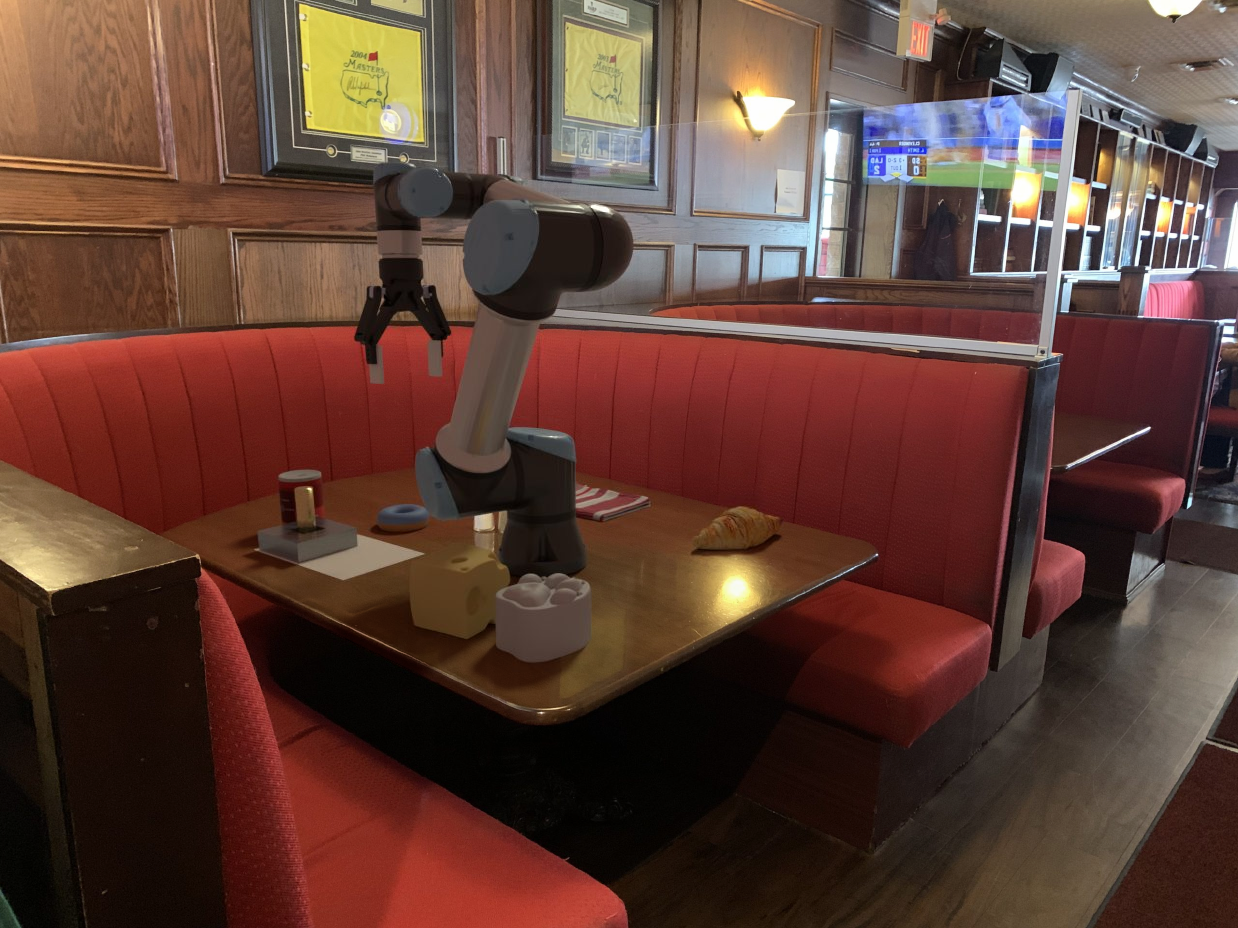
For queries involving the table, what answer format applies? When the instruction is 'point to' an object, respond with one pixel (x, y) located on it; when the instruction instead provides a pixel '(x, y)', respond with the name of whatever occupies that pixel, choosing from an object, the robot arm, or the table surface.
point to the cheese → (456, 589)
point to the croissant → (737, 530)
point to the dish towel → (606, 503)
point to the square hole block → (307, 540)
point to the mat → (357, 558)
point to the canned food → (287, 492)
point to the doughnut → (403, 518)
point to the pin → (305, 509)
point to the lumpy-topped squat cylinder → (543, 617)
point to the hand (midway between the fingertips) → (407, 379)
